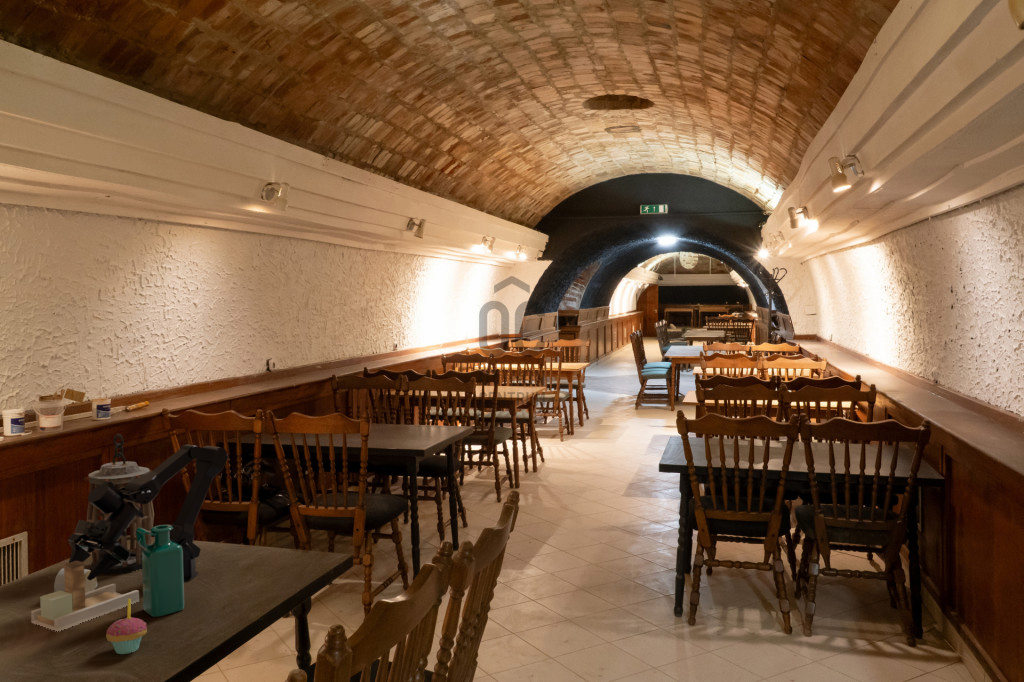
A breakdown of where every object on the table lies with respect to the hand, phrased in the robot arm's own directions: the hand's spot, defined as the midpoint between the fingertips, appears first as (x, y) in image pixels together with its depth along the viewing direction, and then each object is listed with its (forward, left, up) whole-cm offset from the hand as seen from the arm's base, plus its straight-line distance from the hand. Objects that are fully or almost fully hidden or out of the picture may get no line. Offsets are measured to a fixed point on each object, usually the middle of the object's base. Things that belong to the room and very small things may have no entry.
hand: (77, 576), depth 204 cm
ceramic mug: (+8, -14, -10) cm, 19 cm away
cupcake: (-23, +19, -10) cm, 32 cm away
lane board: (-1, -2, -10) cm, 10 cm away
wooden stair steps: (0, -1, -9) cm, 9 cm away
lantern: (+8, -38, -10) cm, 40 cm away
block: (+3, +5, -8) cm, 10 cm away
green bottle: (-20, -4, -10) cm, 22 cm away
